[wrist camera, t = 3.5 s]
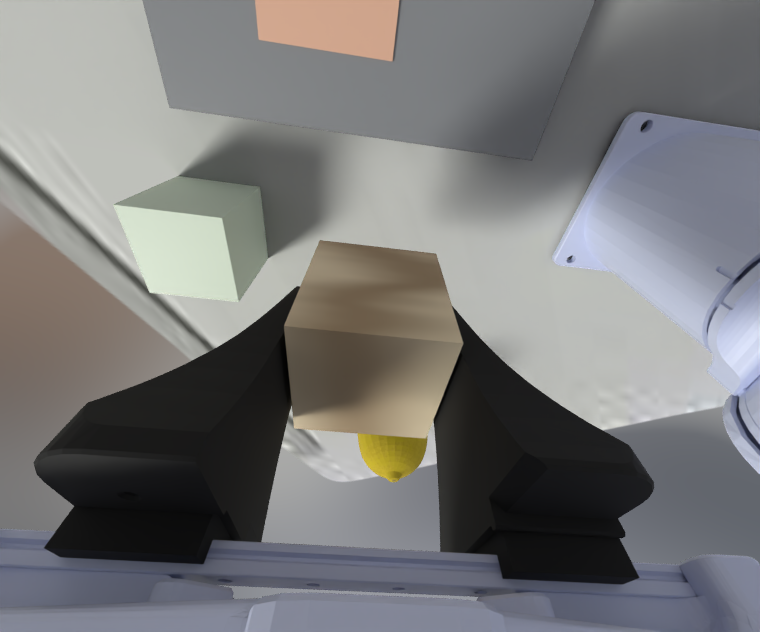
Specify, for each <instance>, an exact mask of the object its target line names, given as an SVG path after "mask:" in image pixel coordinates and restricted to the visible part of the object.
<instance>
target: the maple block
mask: <svg viewBox="0 0 760 632" xmlns="http://www.w3.org/2000/svg"><path fill="white" fill-rule="evenodd" d="M284 332H285V342H286V352H287V361H288V371H289V381H290V391H291V401H292V411H293V420H294V428H295V429H308V430H321V431H334V432H347V433H360V434H373V435H386V436H399V437H412V438H425V439H426V437H427V435H428V432H429V430H430V427H431V425H432V422H433V420H434V417H435V414H436V412H437V409H438V407H439V404H440V402H441V399H442V397H443V394H444V392H445V389H446V386H447V384H448V381H449V379H450V376H451V374H452V371H453V369H454V366H455V364H456V361H457V358H458V356H459V353H460V351H461V348H462V346H463V341H462V337H461V334H460V331H459V327H458V324H457V321H456V318H455V314H454V311H453V308H452V304H451V301H450V298H449V295H448V291H447V288H446V285H445V281H444V278H443V275H442V272H441V268H440V265H439V262H438V258H437V255H436V254H434V253H425V252H417V251H408V250H400V249H391V248H382V247H374V246H365V245H356V244H348V243H339V242H330V241H322V240H320V241H319V244H318V246H317V248H316V251H315V253H314V255H313V258H312V260H311V263H310V265H309V267H308V270H307V272H306V275H305V277H304V279H303V282H302V284H301V286H300V289H299V291H298V294H297V296H296V298H295V301H294V303H293V305H292V308H291V310H290V313H289V315H288V317H287V320H286V322H285V325H284Z"/></svg>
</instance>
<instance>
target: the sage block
mask: <svg viewBox="0 0 760 632" xmlns="http://www.w3.org/2000/svg"><path fill="white" fill-rule="evenodd" d="M113 205H114V208H115V210H116V212H117V215H118V217H119V220H120V222H121V225H122V227H123V229H124V232H125V234H126V237H127V239H128V242H129V244H130V246H131V249H132V251H133V254H134V256H135V258H136V261H137V263H138V266H139V268H140V271H141V273H142V275H143V278H144V280H145V283H146V285H147V288H148V290H149V292H150V293H158V294H167V295H177V296H186V297H196V298H205V299H215V300H224V301H234V302H239V301H240V299H241V298H242V296H243V295H244V293H245V292H246V290H247V289H248V288H249V286H250V285H251V283H252V282H253V280H254V279H255V277H256V276H257V274H258V273H259V271H260V270H261V268H262V267H263V265H264V264H265V262H266V261H267V259H268V252H267V243H266V234H265V226H264V217H263V208H262V199H261V190H260V187H258V186H250V185H243V184H235V183H227V182H220V181H212V180H205V179H197V178H189V177H182V176H177V177H175V178H173V179H170V180H168V181H166V182H163V183H161V184H159V185H157V186H154V187H152V188H150V189H148V190H145V191H143V192H141V193H138V194H136V195H134V196H132V197H129V198H127V199H125V200H123V201H120V202H118V203H116V204H113Z"/></svg>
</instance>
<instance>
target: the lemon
mask: <svg viewBox="0 0 760 632" xmlns="http://www.w3.org/2000/svg"><path fill="white" fill-rule="evenodd" d="M358 441H359V447H360V452H361V455H362V458H363V459H364V461H365V463H366V464H367V466H368V467H369V468H370V469H371V470H372V471H373V472H375V473H376V474H377V475H379V476H381V477H384V478H387V479H388V480H389V481H390V482H397V481H398V480H399V479H400V478H403V477H406V476H407V475H409V474H411V473H412V472H413V471H414V470H415V469H416V468H417V467H418V466H419V465H420V463H421V461H422V459H423V457H424V454H425V451H426V446H427V437H426V439H425V438H412V437H399V436H386V435H373V434H360V433H358Z"/></svg>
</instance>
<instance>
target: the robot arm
mask: <svg viewBox="0 0 760 632" xmlns="http://www.w3.org/2000/svg"><path fill="white" fill-rule="evenodd" d="M645 121H647V126H646V127H645V128H644V130H642V131H641V130H640V128H641V125H642V124H643V123H644V122H645ZM570 256H572V258H571V259H569V260H567V258H568V257H570ZM552 259H553V261H554V262H555V263H556V264H557V265H561V266H569V267H577V268H585V269H593V270H602V271H610V272H613V273H614V274H615V275H617V276H618V277H619V278H620V279H621V280H623V281H624V282H625V283H626V284H627V285H629V286H630V287H631V288H632V289H634V290H635V291H636V292H637V293H638V294H640V295H641V296H642V297H643V298H645V299H646V300H647V301H648V302H649V303H651V304H652V305H653V306H654V307H656V308H657V309H658V310H659V311H660V312H662V313H663V314H664V315H665V316H667V317H668V318H669V319H670V320H671V321H673V322H674V323H675V324H676V325H678V326H679V327H680V328H681V329H682V330H684V331H685V332H686V333H687V334H688V335H690V336H691V337H692V338H693V339H695V340H696V341H697V342H698V343H699V344H701V345H702V346H703V347H704V348H706V349H707V350H708V351H709V352H710V353H712V355H713V360H712V363H711V365H710V366H709V368H708V369H707V372H708V373H709V374H710V375H711V376H712V377H713V378H714V379H715V380H717V381H718V382H719V383H720V384H721V385H722V386H723V387H724V388H726V389H727V390H728V391H729V392H730V393H731V395H730V396H729V398H728V399H727V400H726V402H725V405H724V408H723V421H724V425H725V428H726V431H727V433H728V435H729V436H730V438H731V440H732V442H733V444H734V445H735V446H736V448H737V449H738V450H739V452H740V453H741V454H742V456H743V457H744V458H745V459H746V460H747V461H748V463H750V465H751V466H752V467H753V468H754V469H755V470H756V471H757V472H758V473H759V474H760V131H759V130H752V129H746V128H740V127H734V126H728V125H721V124H715V123H709V122H703V121H696V120H690V119H684V118H678V117H672V116H665V115H659V114H653V113H647V112H633V113H631V114H629V115H628V116H627V117H626V118H625V119H624V121H623V122H622V124H621V126H620V128H619V130H618V132H617V134H616V136H615V137H614V139H613V141H612V143H611V145H610V147H609V149H608V151H607V153H606V155H605V157H604V158H603V160H602V162H601V164H600V166H599V168H598V170H597V172H596V174H595V176H594V178H593V180H592V181H591V183H590V185H589V187H588V189H587V191H586V193H585V195H584V197H583V199H582V201H581V203H580V204H579V206H578V208H577V210H576V212H575V214H574V216H573V218H572V220H571V222H570V224H569V225H568V227H567V229H566V231H565V233H564V235H563V237H562V239H561V241H560V243H559V245H558V247H557V248H556V250H555V252H554V254H553V257H552ZM299 289H300V287H299V286H297V287H296V288H294V289H293V290H292V291H291V292H290V293H289V294H288V295H286V296H285V297H284V298H283V299H282V300H281V301H280V302H279V303H278V304H276V305H275V306H274V307H273V308H272V309H271V310H269V311H268V312H267V313H266V314H265V315H263V316H262V317H261V318H260V319H258V320H257V321H256V322H254V323H253V324H252V325H250V326H249V327H248V328H246V329H245V330H244V331H242V332H241V333H239V334H238V335H236V336H235V337H233V338H232V339H230V340H229V341H227V342H225V343H224V344H222V345H220V346H219V347H217V348H215V349H213V350H212V351H210V352H208V353H206V354H204V355H202V356H200V357H198V358H196V359H194V360H192V361H191V362H189V363H187V364H185V365H183V366H180V367H178V368H176V369H174V370H172V371H169V372H167V373H165V374H163V375H160V376H158V377H156V378H153V379H151V380H148V381H146V382H144V383H141V384H138V385H136V386H133V387H130V388H128V389H125V390H122V391H119V392H117V393H114V394H111V395H108V396H106V397H103V398H100V399H97V400H94V401H92V402H88V403H87V404H86V405H85V406H84V407H83V408H82V409H81V410H80V411H79V412H78V413H77V415H75V416H74V417H73V419H72V420H71V421H70V422H69V423H68V424H67V425H66V426H65V427H64V428H63V429H62V430H61V431H60V433H58V435H57V436H56V437H55V438H54V439H53V440H52V441H51V442H50V443H49V444H48V445H47V446H46V447H45V448H44V449H43V451H42V452H41V453H40V454H39V455H38V456H37V458H36V459H35V461H34V466H35V470H36V473H37V475H38V476H39V477H40V478H41V479H42V480H43V481H44V482H45V483H46V484H47V485H49V486H50V487H51V488H52V489H54V490H55V491H56V492H57V493H59V494H60V495H61V496H62V497H64V498H65V499H66V500H68V501H69V502H70V503H71V504H72V505H74V508H73V509H72V510H71V511H70V513H69V515H68V516H67V517H66V518H65V520H64V521H63V522H62V524H61V525H60V527H59V528H58V529H57V530H56V531H38V530H21V529H2V528H1V529H0V632H760V565H759V563H758V562H757V560H756V559H754V558H752V557H750V556H733V555H715V554H710V555H709V554H708V555H700V556H695V557H691V558H689V559H686V560H684V561H682V562H681V563H680V564H679V565H676V564H657V563H638V562H631V560H630V558H629V556H628V554H627V552H626V551H625V549H624V547H623V545H622V543H621V541H620V539H619V538H623V537H625V531H624V529H623V527H622V525H621V523H620V522H619V520H618V518H619V517H621V516H622V515H624V514H625V513H627V512H629V511H630V510H632V509H634V508H635V507H637V506H638V505H640V504H641V503H643V502H644V501H645V500H647V499H648V498H649V497H650V495H651V494H652V492H653V489H654V482H653V480H652V479H651V477H650V476H649V474H648V473H647V471H646V470H645V468H644V467H643V465H642V464H641V462H640V461H639V459H638V458H637V456H636V455H635V454H634V452H633V450H632V449H631V448H630V446H629V445H628V444H626V443H624V442H622V441H620V440H619V439H617V438H615V437H613V436H611V435H610V434H608V433H606V432H604V431H602V430H601V429H599V428H597V427H595V426H593V425H592V424H590V423H588V422H586V421H585V420H583V419H581V418H580V417H578V416H577V415H575V414H573V413H572V412H570V411H569V410H567V409H565V408H564V407H562V406H561V405H559V404H558V403H556V402H555V401H553V400H552V399H550V398H549V397H548V396H546V395H545V394H543V393H542V392H541V391H539V390H538V389H537V388H535V387H534V386H532V385H531V384H530V383H529V382H527V381H526V380H525V379H523V378H522V377H521V376H520V375H519V374H517V373H516V372H515V371H514V370H513V369H512V368H510V367H509V366H508V365H507V364H506V363H505V362H504V361H502V360H501V359H500V358H499V357H498V356H497V355H496V354H495V353H494V352H493V351H492V350H491V349H490V348H489V347H488V346H487V345H486V344H485V343H484V342H483V341H482V340H481V339H480V338H479V336H478V335H477V334H476V333H475V332H474V331H473V330H472V329H471V327H470V326H469V325H468V324H467V323H466V322H465V320H464V319H463V318H462V317H461V316H460V315H459V313H458V312H457V311H456V310H455V309H454V307H453V306H452V308H453V311H454V314H455V318H456V321H457V324H458V327H459V331H460V334H461V337H462V341H463V346H462V348H461V351H460V353H459V356H458V358H457V361H456V364H455V366H454V369H453V371H452V374H451V376H450V379H449V381H448V384H447V386H446V389H445V392H444V394H443V397H442V399H441V402H440V404H439V407H438V409H437V412H436V414H435V417H434V428H435V441H436V453H437V469H438V486H439V510H440V547H441V548H440V552H433V551H414V550H395V549H377V548H356V547H338V546H320V545H302V544H301V545H300V544H282V543H263V542H261V540H262V535H263V530H264V525H265V519H266V515H267V510H268V505H269V499H270V495H271V490H272V485H273V481H274V476H275V471H276V467H277V462H278V458H279V454H280V449H281V445H282V440H283V436H284V432H285V428H286V424H287V420H288V416H289V412H290V409H291V406H292V401H291V391H290V381H289V371H288V361H287V352H286V342H285V332H284V325H285V322H286V320H287V317H288V315H289V313H290V310H291V308H292V305H293V303H294V301H295V298H296V296H297V294H298V291H299ZM218 585H226V586H249V587H272V588H295V589H317V590H339V591H362V592H385V593H408V594H429V595H452V596H475V597H478V599H477V601H471V600H462V599H447V598H425V597H402V596H400V597H399V596H378V595H356V594H355V595H354V594H333V593H280V594H275V595H270V596H264V597H262V598H253V599H234V598H233V591H232V589H231V588H229V587H224V586H218Z"/></svg>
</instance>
